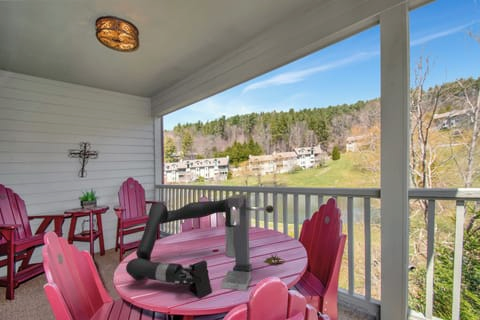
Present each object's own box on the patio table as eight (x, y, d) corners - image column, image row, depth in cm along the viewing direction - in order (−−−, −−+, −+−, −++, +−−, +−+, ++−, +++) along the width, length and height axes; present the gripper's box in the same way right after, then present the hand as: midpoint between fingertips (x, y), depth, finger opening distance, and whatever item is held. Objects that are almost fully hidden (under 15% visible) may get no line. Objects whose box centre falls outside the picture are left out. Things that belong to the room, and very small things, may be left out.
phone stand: (187, 290, 93) (187, 261, 94) (199, 284, 97) (199, 257, 98) (199, 298, 87) (199, 268, 87) (212, 292, 91) (211, 263, 91)
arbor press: (233, 267, 114) (232, 193, 115) (276, 271, 108) (273, 194, 110) (221, 287, 94) (219, 199, 96) (271, 293, 89) (268, 199, 91)
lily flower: (289, 261, 120) (289, 253, 120) (277, 269, 111) (277, 260, 111) (271, 256, 128) (271, 248, 128) (259, 263, 119) (258, 254, 120)
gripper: (178, 273, 103) (211, 277, 98) (159, 290, 89) (197, 295, 84) (177, 257, 103) (211, 260, 99) (159, 271, 89) (197, 275, 85)
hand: (204, 276), depth 92 cm, fingers closed on phone stand, 6 cm apart
